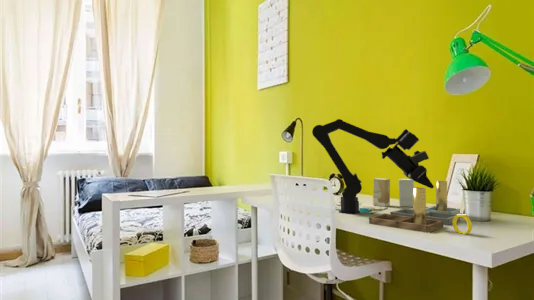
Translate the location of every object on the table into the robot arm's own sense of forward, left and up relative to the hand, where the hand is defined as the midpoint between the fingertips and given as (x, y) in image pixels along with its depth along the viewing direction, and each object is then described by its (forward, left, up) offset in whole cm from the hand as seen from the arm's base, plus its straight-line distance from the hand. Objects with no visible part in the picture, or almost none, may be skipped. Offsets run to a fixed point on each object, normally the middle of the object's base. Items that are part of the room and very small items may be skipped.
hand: (430, 186), depth 148 cm
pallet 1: (+2, -26, -11) cm, 28 cm away
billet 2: (+3, +2, -11) cm, 12 cm away
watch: (+20, -26, -11) cm, 35 cm away
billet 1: (+7, -26, -11) cm, 29 cm away
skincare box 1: (-25, +6, -11) cm, 28 cm away
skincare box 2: (-16, +12, -11) cm, 23 cm away
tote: (+3, +2, -11) cm, 12 cm away
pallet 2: (+2, -11, -11) cm, 16 cm away
